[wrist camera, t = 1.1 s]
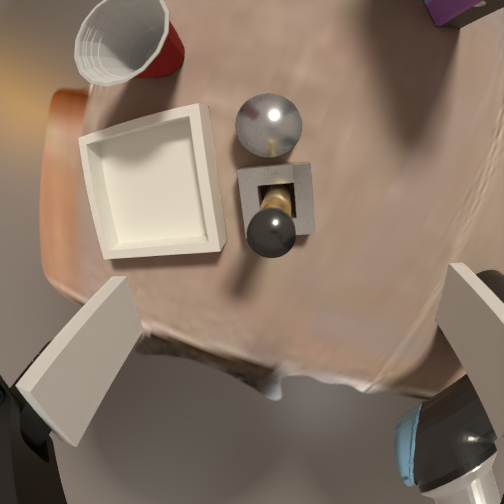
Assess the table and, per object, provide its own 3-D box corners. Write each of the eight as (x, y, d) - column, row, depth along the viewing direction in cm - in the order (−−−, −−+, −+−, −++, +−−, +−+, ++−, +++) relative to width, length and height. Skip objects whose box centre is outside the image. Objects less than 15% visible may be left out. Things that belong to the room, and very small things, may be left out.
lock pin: (294, 210, 35) (297, 256, 21) (264, 212, 35) (249, 259, 22) (291, 180, 33) (293, 209, 20) (261, 183, 34) (243, 213, 21)
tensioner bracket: (313, 226, 35) (315, 235, 32) (249, 230, 36) (245, 240, 33) (301, 95, 29) (302, 90, 26) (233, 102, 31) (226, 98, 27)
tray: (227, 239, 37) (220, 251, 34) (118, 248, 40) (104, 259, 36) (208, 106, 31) (198, 103, 27) (95, 136, 34) (78, 138, 30)
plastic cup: (134, 108, 32) (76, 103, 21) (124, 41, 28) (70, 18, 17) (212, 83, 30) (175, 59, 19) (198, 13, 26) (162, -29, 15)
